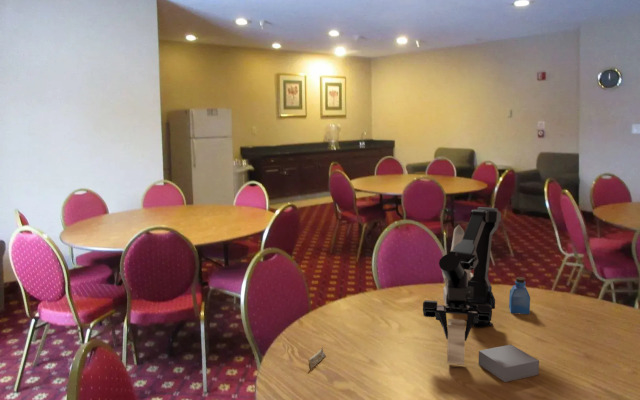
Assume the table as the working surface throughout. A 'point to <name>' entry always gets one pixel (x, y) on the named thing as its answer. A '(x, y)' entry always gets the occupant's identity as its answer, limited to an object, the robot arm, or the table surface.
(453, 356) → the birch block
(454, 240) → the miniature monument
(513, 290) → the perfume bottle
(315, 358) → the snack bar
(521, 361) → the plinth
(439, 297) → the table surface
